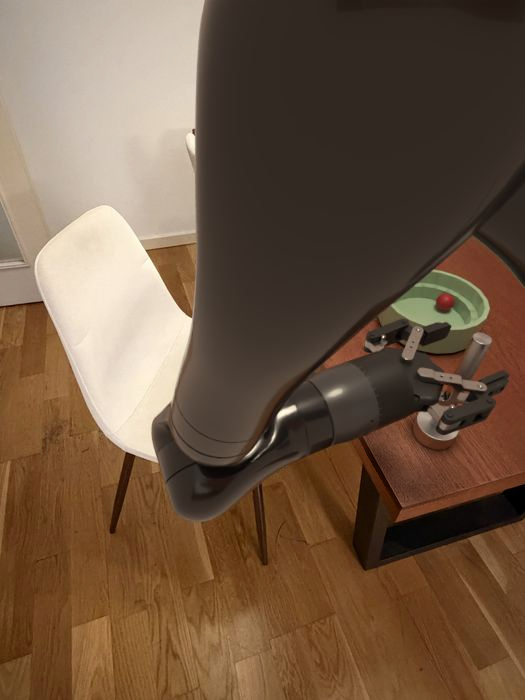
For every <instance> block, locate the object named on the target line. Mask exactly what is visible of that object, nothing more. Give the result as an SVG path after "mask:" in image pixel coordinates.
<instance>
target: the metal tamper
mask: <svg viewBox="0 0 525 700" xmlns="http://www.w3.org/2000/svg"><path fill="white" fill-rule="evenodd" d="M492 343H493V338H492V337H491V336H490V335H488V334H486V333H485V332H481V331H480V332H478V333H475V334H473V336H472V338H471V340H470V342H469V344H468V346H467V348H466V349H464V352H463V354H462V356H461V358H460V360H459V362H458V364H457V366H456V368H455V370H454V373H453V374H455V375H460V376H461V377H462V379H464V380H470V381H472V379H473V377H474V375H475V374H476V372H477V370H478V368H479V366H480V364H481V363H482V361H483V359H484V358H485V356H486V354H487V352H488V350H489V348H490V347H491V344H492ZM448 388H449V385H446V387H445V391H444V392H446V391H447V390H448ZM461 392H463V393H466V391H461ZM438 404H439V405H441V406H450V405H447V404H441V403H438ZM458 404H459V403H455V404H453V405H455V407H457V406H458ZM437 424H438V423H437V422H436V421H435V420H434V419H433V417H432V416H431V415H430V414H429V413H428V412H417V415H416V417H415V419H414V421H413V424H412V433H413V435H414V437H415V439H416V440H417V441H418V442H419V443H420V444H421V445H423V446H424V447H426V448H428V449H432V450H434V451H435V450H437V451H443V450H446V449H448V448H450V447H451V446H452V444H454V441H455V440H456V438H457V437H458V435H459V432H460V430H458V431H455V432H452V433H450V434H447V435H441V434H439V433H438V432H437V431H436V426H437Z"/></svg>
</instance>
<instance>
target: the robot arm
mask: <svg viewBox="0 0 525 700" xmlns="http://www.w3.org/2000/svg"><path fill="white" fill-rule="evenodd" d="M197 41H198V42H197V57H196V74H195V75H196V79H195V105H194V107H195V109H194V119H195V120H194V191H195V192H194V200H195V201H194V203H195V204H194V205H195V275H194V295H193V306H192V307H193V308H192V317H191V323H190V329H189V334H188V337H187V341H186V346H185V349H184V352H183V356H182V358H181V362H180V366H179V370H178V373H177V378H176V381H175V386H174V389H173V394H172V398H171V400H170V401H169V402H168V403H167V404H166V405H165V407H163V409H162V410H160V411H158V413H157V414H156V415H155V416H154V417H153V419H152V422H151V428H150V429H151V431H150V432H151V443H152V447H153V450H154V453H155V457H156V459H157V463H158V466H159V470H160V473H161V476H162V480H163V483H164V485H165V491H166V493H167V496H168V499H169V503H170V506H171V508H172V510H173V512H174V514H175V515H176V516H178V518H180V519H182V520H183V521H187V522H190V523H191V522H192V523H205V522H210V521H212V520H215V519H217V518H219V517H221V516H223V515H224V514H225V513H227V512H228V511H229V510H231V509H232V508H233V507H235V506H236V505H237V504H238V503H239V502H241V501H242V500H243V499H244V498H245V497H247V496H248V495H249V494H251V492H252V491H254V490H255V489H256V488H258V486H260V485H261V484H262V483H264V482H265V481H266V480H268V479H269V478H270V477H272V476H273V475H274V474H276V473H278V472H279V471H281V470H282V469H284V468H286V467H287V466H289V465H291V464H293V463H295V462H297V461H299V460H302V459H304V458H307V457H309V456H311V455H313V454H314V455H315V454H316V453H319V452H320V451H322V450H325V449H328V448H330V447H333V446H336V445H340V444H344V443H348V442H351V441H353V440H357V439H358V438H361V437H366V436H368V435H370V434H372V433H373V432H376V431H378V430H380V429H382V428H385V427H388V426H390V425H393V424H394V423H397V422H399V421H402V420H404V419H406V418H408V417H409V416H411V415H413V414H416V413H419V412H428V413H429V414H430V415H431V416H432V417H433V419H434V420H435V421H436V422H437V423H438V424H437V426H436V431H437V432H438V433H439V434H441V435H447V434H450V433H452V432H455V431H458V430H459V431H460V430H463V429H465V428H468V427H471V426H474V425H476V424H479V423H482V422H485V421H486V420H487V419H488V418H489V416H490V414H491V413H492V411H493V410H494V409H495V407H496V406H497V400H496V399H495V398H494V396H496V395H499V394H501V393H503V392H504V389H505V388H506V386H507V385H508V384H509V382H510V380H509V378H510V376H511V374H510V373H508V372H507V371H506V370H505V369H501V370H499V371H497V372H495V373H492V374H490V375H487V376H484V377H482V378H480V379H478V381H477V380H471V381H470V380H464V379H462V377H461V376H460V375H455V374H454V373H449V372H445V370H444V369H443V368H441V366H439V365H438V364H436V363H435V362H433V360H432V359H431V357H430V356H429V355H428V354H427V352H420V351H419V350H417V347H418V345H419V344H420V345H421V346H422V347H423V346H426V345H429V344H431V343H434V342H437V341H440V340H442V339H445V338H446V337H447V336H448V334H449V331H450V329H451V325H450V324H449V323H448V322H444V323H441V322H436V323H433V324H430V325H427V326H424V327H419V326H415V327H412V326H410V325H409V321H408V320H406V319H400V320H397V321H395V322H392V323H389V324H387V325H384V326H380V327H377V328H374V329H372V330H369V331H367V332H366V336H365V340H364V343H363V348H362V349H363V351H364V352H365V353H366V354H364V355H360V356H359V357H355V358H352V359H350V360H346V361H344V362H341V363H339V364H335V365H332V366H329V367H327V368H324V369H322V370H319V371H318V372H316V371H317V370H318V369H320V367H322V366H323V365H324V364H325V363H326V362H327V361H328V360H329V359H331V358H332V357H333V356H334V355H335V354H336V353H338V352H339V351H340V350H341V349H342V348H343V347H345V345H346V344H348V343H349V342H350V341H351V340H352V339H353V338H354V337H355V336H357V335H358V334H359V333H360V332H362V330H364V328H366V327H367V326H368V325H369V324H370V323H371V322H373V321H374V320H375V319H376V318H378V316H379V315H380V314H381V313H382V312H383V311H385V310H386V309H387V308H388V307H390V306H391V305H392V304H393V303H394V302H396V301H397V300H398V299H399V298H400V297H402V296H403V295H404V294H405V293H406V292H408V291H409V290H410V289H411V288H413V287H414V286H415V285H416V284H417V283H419V282H420V281H421V280H422V279H423V278H425V277H426V276H427V275H428V274H429V273H430V272H432V271H433V270H436V269H437V268H438V267H439V266H441V264H442V263H444V261H446V260H447V259H448V258H449V257H450V256H451V255H453V254H454V253H455V252H456V251H457V250H458V249H459V248H460V247H462V246H463V245H464V244H466V243H467V241H468V240H470V239H471V238H474V239H476V240H477V241H478V242H480V243H481V244H482V246H484V247H485V248H487V249H488V250H489V251H490V252H491V253H492V254H493V255H495V256H496V257H497V258H498V260H500V262H501V263H502V264H503V265H504V266H505V267H506V268H507V269H508V270H509V271H510V272H511V274H513V276H514V277H515V279H516V280H517V281H518V282H519V284H520V285H521V286H522V287H523V288H524V289H525V0H204V1H203V7H202V12H201V17H200V23H199V30H198V40H197ZM401 340H405V341H407V343H406V345H404V348H399V347H398V348H397V347H390V346H392V345H393V344H396V343H398V342H399V341H401ZM399 343H400V342H399ZM448 385H449V388H448V390H447V391H446V392H445V391H443V389H444V386H448ZM461 391H465V392H464V393H463V392H461ZM439 403H441V404H447V405H450V406H441V405H439ZM455 403H458V404H460V405H457V406H456V407H455V405H453V404H455Z"/></svg>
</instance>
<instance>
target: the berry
mask: <svg viewBox="0 0 525 700" xmlns="http://www.w3.org/2000/svg"><path fill="white" fill-rule="evenodd" d="M436 306H437V308H438V309H439V310H442V311H448V310H450V309H451V308H452V307H453V306H454V298H453V297H452V296H451V295H449V294H442V295H440V296H439V297H438V298H437V299H436Z"/></svg>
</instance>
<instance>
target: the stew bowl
mask: <svg viewBox="0 0 525 700" xmlns="http://www.w3.org/2000/svg"><path fill="white" fill-rule="evenodd" d="M442 294H449V295H451V296H452V297H453V298H454V306H453V307H452V308H451V309H450V310H448V311H442V310H439V309H438V308H437V306H436V299H437V298H438V297H439V296H440V295H442ZM490 310H491V307H490V304H489V300H488V298H487V297H486V295H485V294H484V293H483V291H482V290H481V289H480V288H478V287H477V286H476V285H474V284H473V283H472V282H470V281H469V280H467V279H465V278H463V277H461V276H459V275H457V274H453V273H450V272H447V271H443V270H438V269H434V270H433V271H432V272H430V273H429V274H428V275H427V276H426V277H425V278H423V279H422V280H421V281H420V282H419V283H417V284H416V285H415V286H414V287H413V288H411V289H410V290H409V291H408V292H406V293H405V294H404V295H403V296H402V297H400V298H399V299H398V300H397V301H396V302H394V303H393V304H392V305H391V306H390V307H388V308H387V309H386V310H385V311H383V312H382V313H381V314H380V315H379V316H377V318H378V320H379V323H380V327H382V326H384V325H387V324H389V323H392V322H395V321H397V320H400V319H406V320H408V321H409V325H410V326H412V327H415V326H419V327H424V326H427V325H430V324H433V323H436V322H441V323H444V322H448V323H449V324H450V325H451V329H450V331H449V334H448V336H447V337H446V338H445V339H442V340H440V341H437V342H434V343H431V344H429V345H426V346H423V347H422V346H421V345H420V344H419V345H418V347H417V350H416V351H419V352H420V351H421V352H423V353H431V354H437V355H438V354H454V353H458V352H460V351H463V350H464V351H465V350H466V348H467V346H468V344H469V342H470V340H471V338H472V336H473V334H475V333H478V332H480V333H481V330H482V328H483V327H484V324H485V322H486V320H487V318H488V315H489V314H490ZM399 343H400V344H402V345H403V346H406V343H407V341H405V340H401V341H399Z"/></svg>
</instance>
